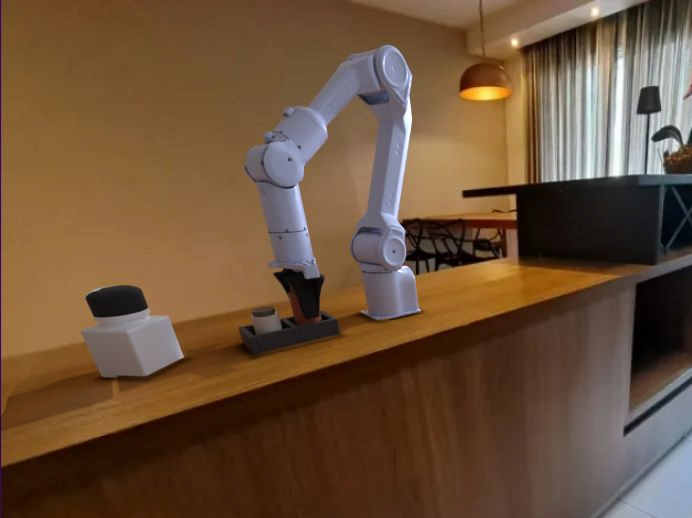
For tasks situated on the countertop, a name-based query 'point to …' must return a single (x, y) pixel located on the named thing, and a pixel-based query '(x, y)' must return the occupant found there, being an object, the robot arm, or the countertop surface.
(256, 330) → the cream jar
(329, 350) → the countertop surface
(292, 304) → the spice bottle
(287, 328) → the holder
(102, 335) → the medicine bottle
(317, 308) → the robot arm
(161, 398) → the countertop surface
